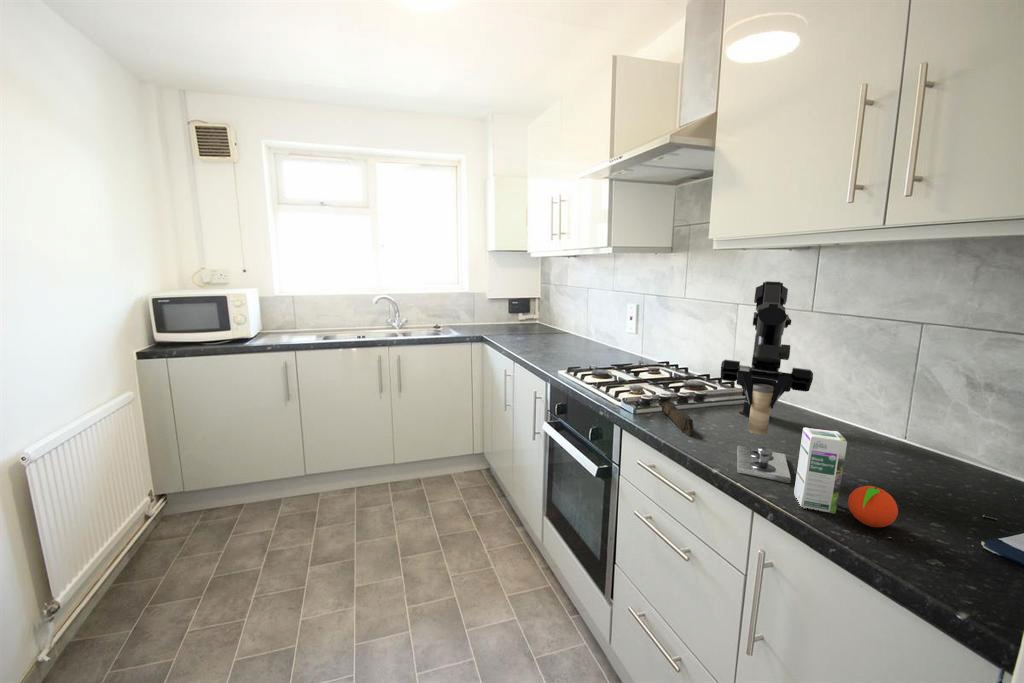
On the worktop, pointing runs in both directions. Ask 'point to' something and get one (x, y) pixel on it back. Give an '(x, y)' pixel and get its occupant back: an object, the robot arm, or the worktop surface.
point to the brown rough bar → (678, 417)
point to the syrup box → (820, 469)
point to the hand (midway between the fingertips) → (761, 405)
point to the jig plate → (754, 472)
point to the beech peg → (760, 409)
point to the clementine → (872, 506)
